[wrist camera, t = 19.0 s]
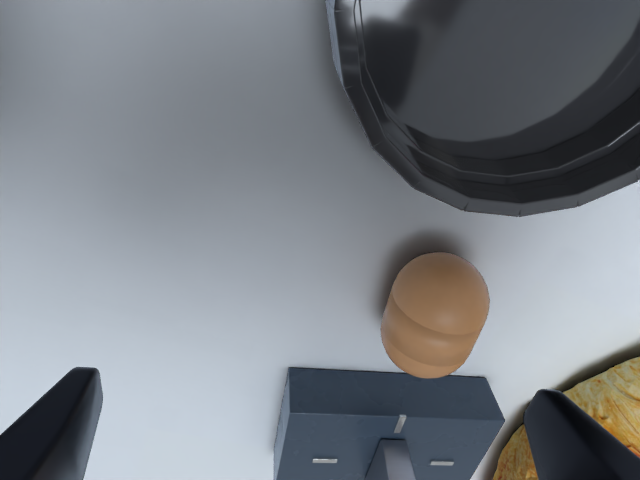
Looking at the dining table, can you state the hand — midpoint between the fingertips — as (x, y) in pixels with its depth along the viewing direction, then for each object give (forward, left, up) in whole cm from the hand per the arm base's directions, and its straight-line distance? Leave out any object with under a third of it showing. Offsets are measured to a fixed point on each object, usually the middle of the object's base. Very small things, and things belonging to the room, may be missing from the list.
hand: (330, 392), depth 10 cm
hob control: (+7, -17, -12) cm, 22 cm away
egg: (+7, -6, -12) cm, 15 cm away
